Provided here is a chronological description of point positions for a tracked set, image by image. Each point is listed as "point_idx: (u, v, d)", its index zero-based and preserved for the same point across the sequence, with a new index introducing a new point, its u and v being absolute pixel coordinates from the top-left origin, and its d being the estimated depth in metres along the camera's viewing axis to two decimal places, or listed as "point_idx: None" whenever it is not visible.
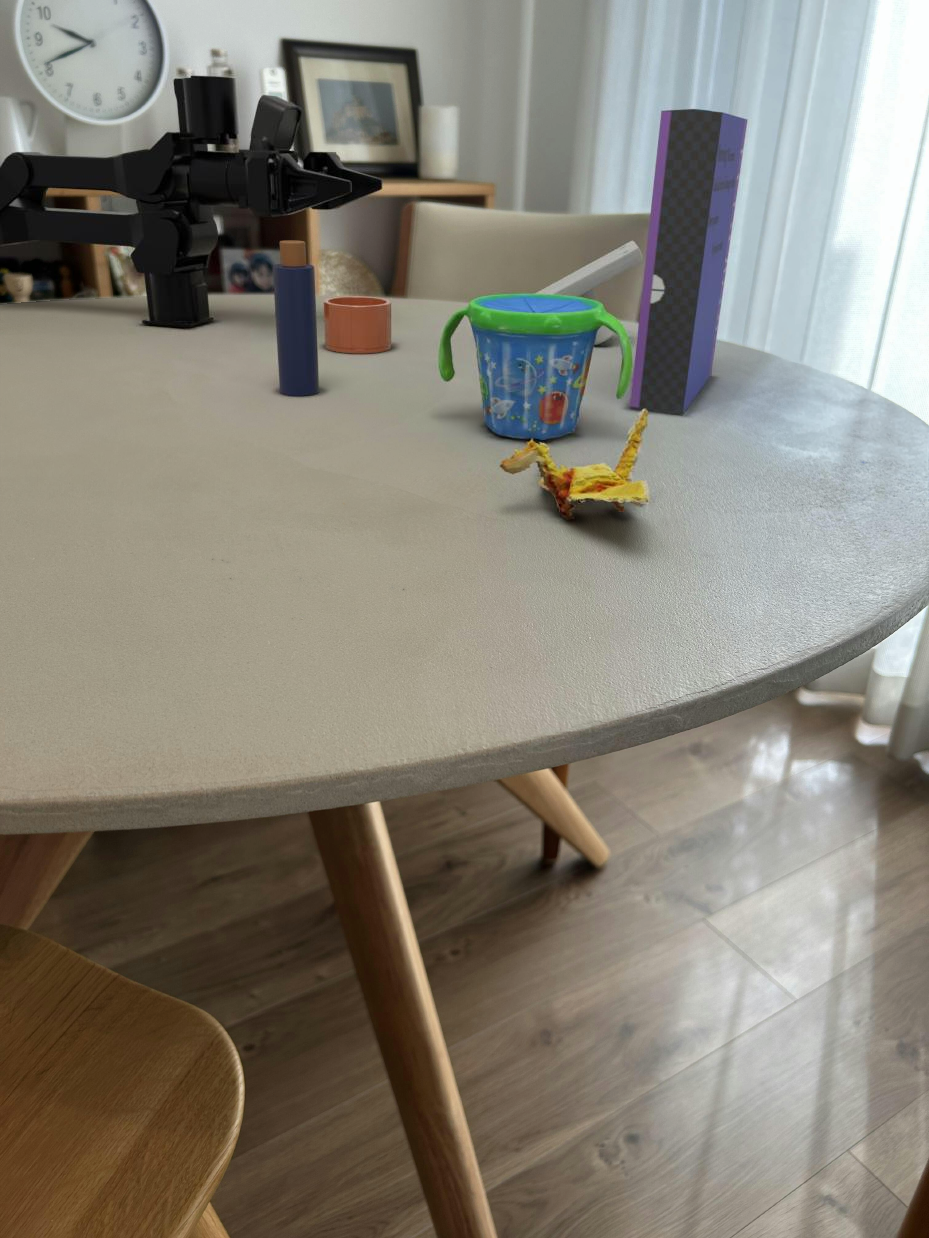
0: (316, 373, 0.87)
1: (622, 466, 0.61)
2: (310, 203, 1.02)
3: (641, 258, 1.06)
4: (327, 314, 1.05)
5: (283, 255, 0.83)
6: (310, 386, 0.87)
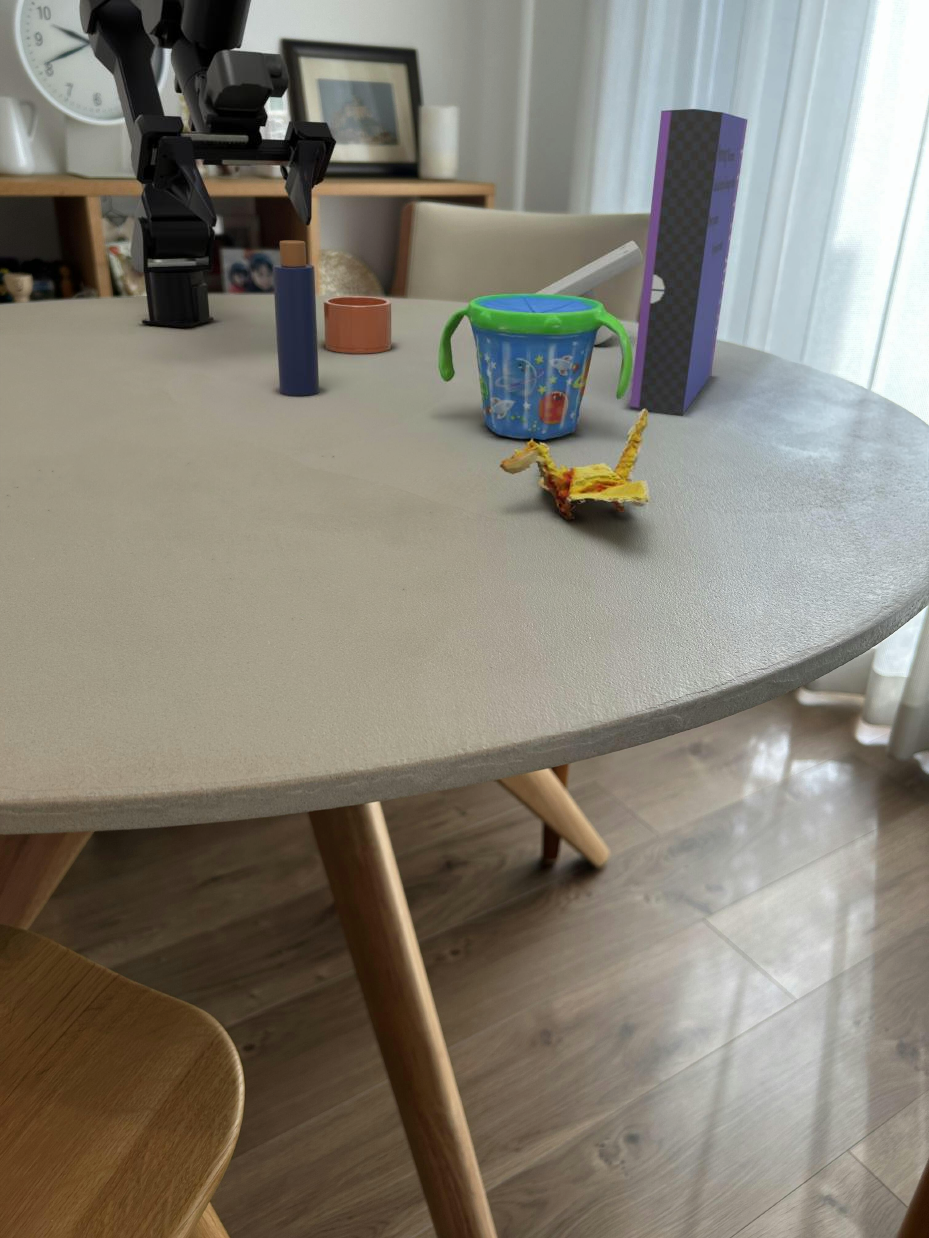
0: (316, 373, 0.87)
1: (622, 466, 0.61)
2: (183, 201, 0.89)
3: (641, 258, 1.06)
4: (327, 314, 1.05)
5: (283, 255, 0.83)
6: (310, 386, 0.87)
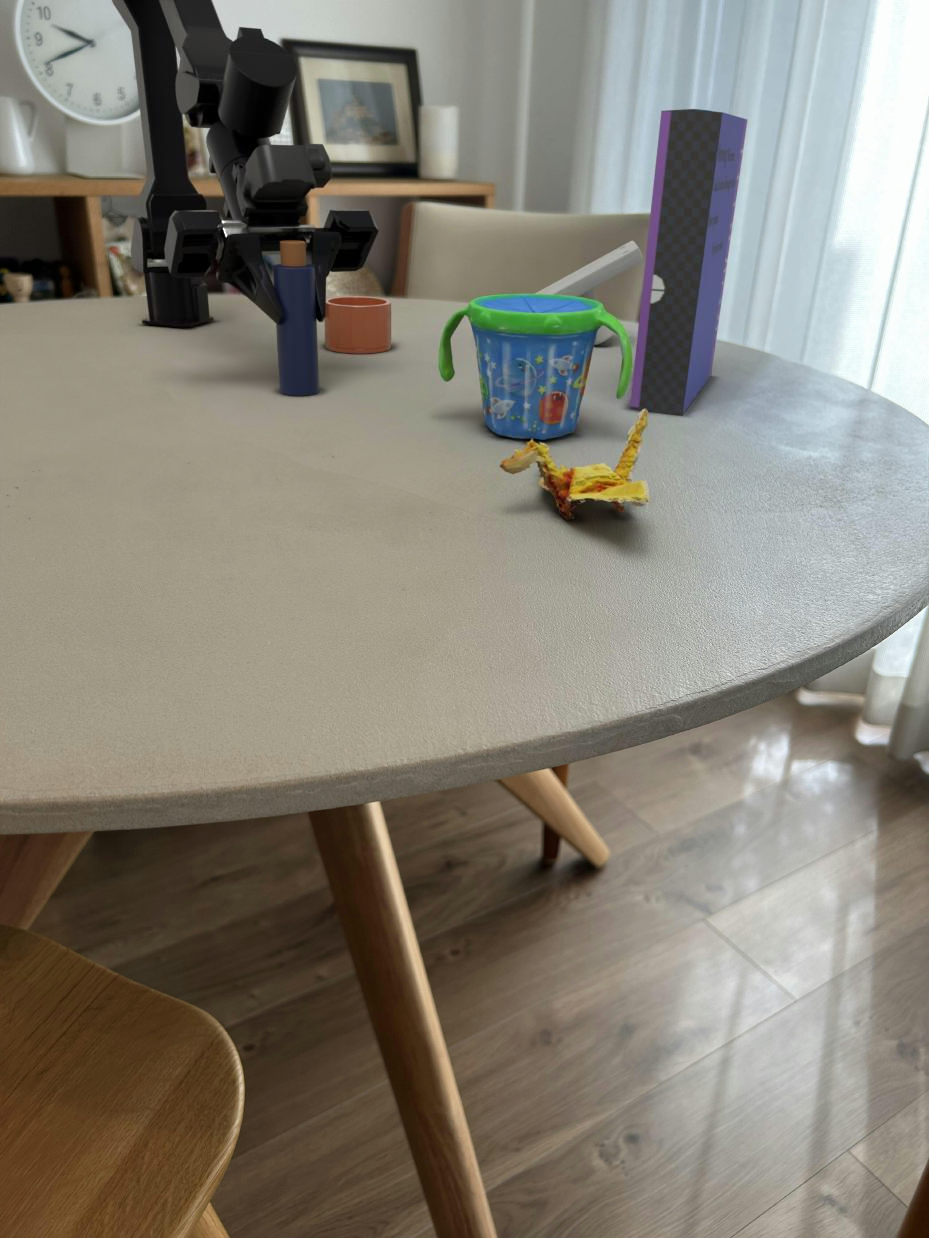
0: (316, 373, 0.87)
1: (622, 466, 0.61)
2: (248, 296, 0.86)
3: (641, 258, 1.06)
4: (327, 314, 1.05)
5: (284, 255, 0.83)
6: (310, 386, 0.87)
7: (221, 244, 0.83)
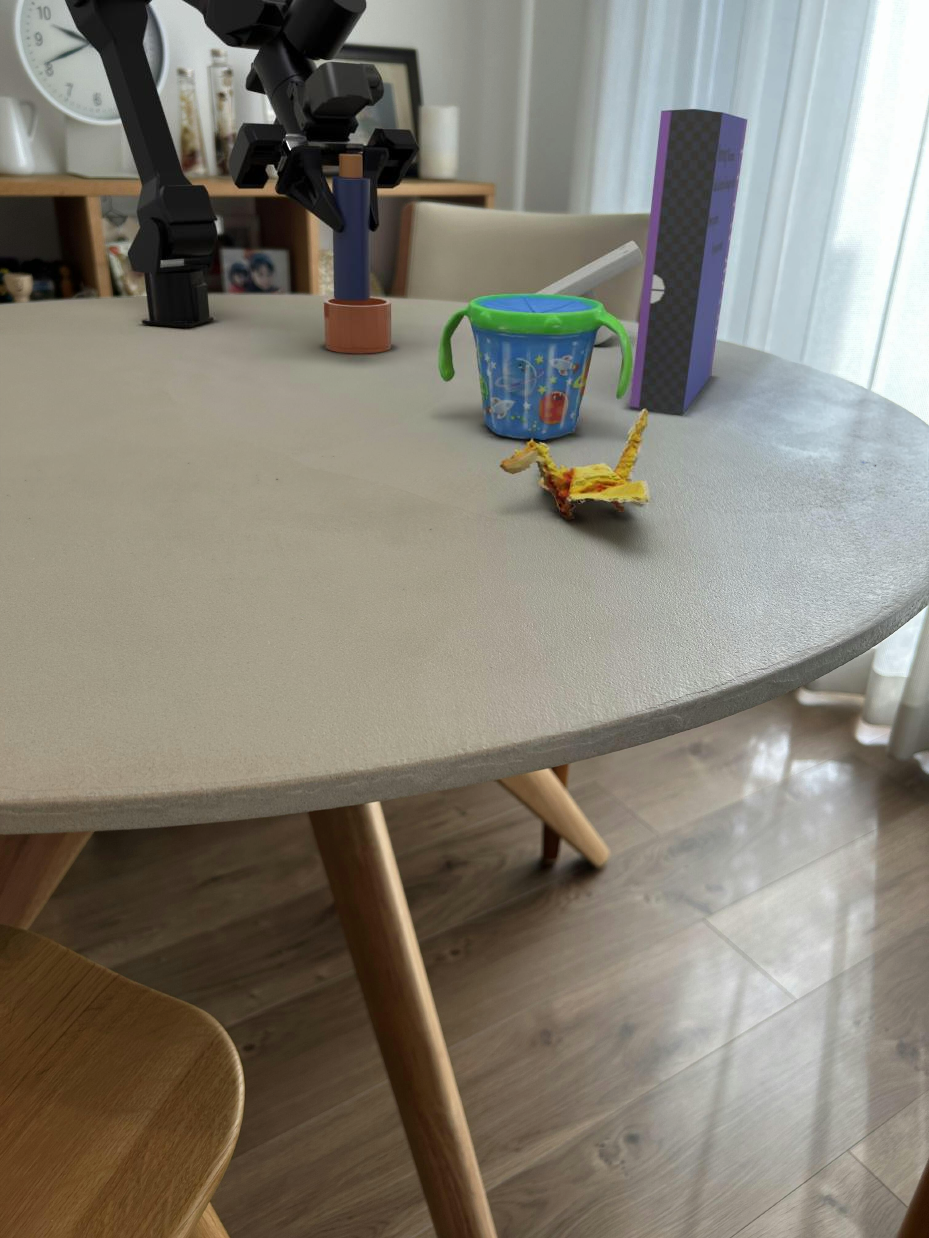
0: (369, 280, 0.95)
1: (622, 466, 0.61)
2: (306, 206, 0.92)
3: (641, 258, 1.06)
4: (327, 314, 1.05)
5: (344, 166, 0.90)
6: (364, 291, 0.95)
7: (284, 156, 0.90)
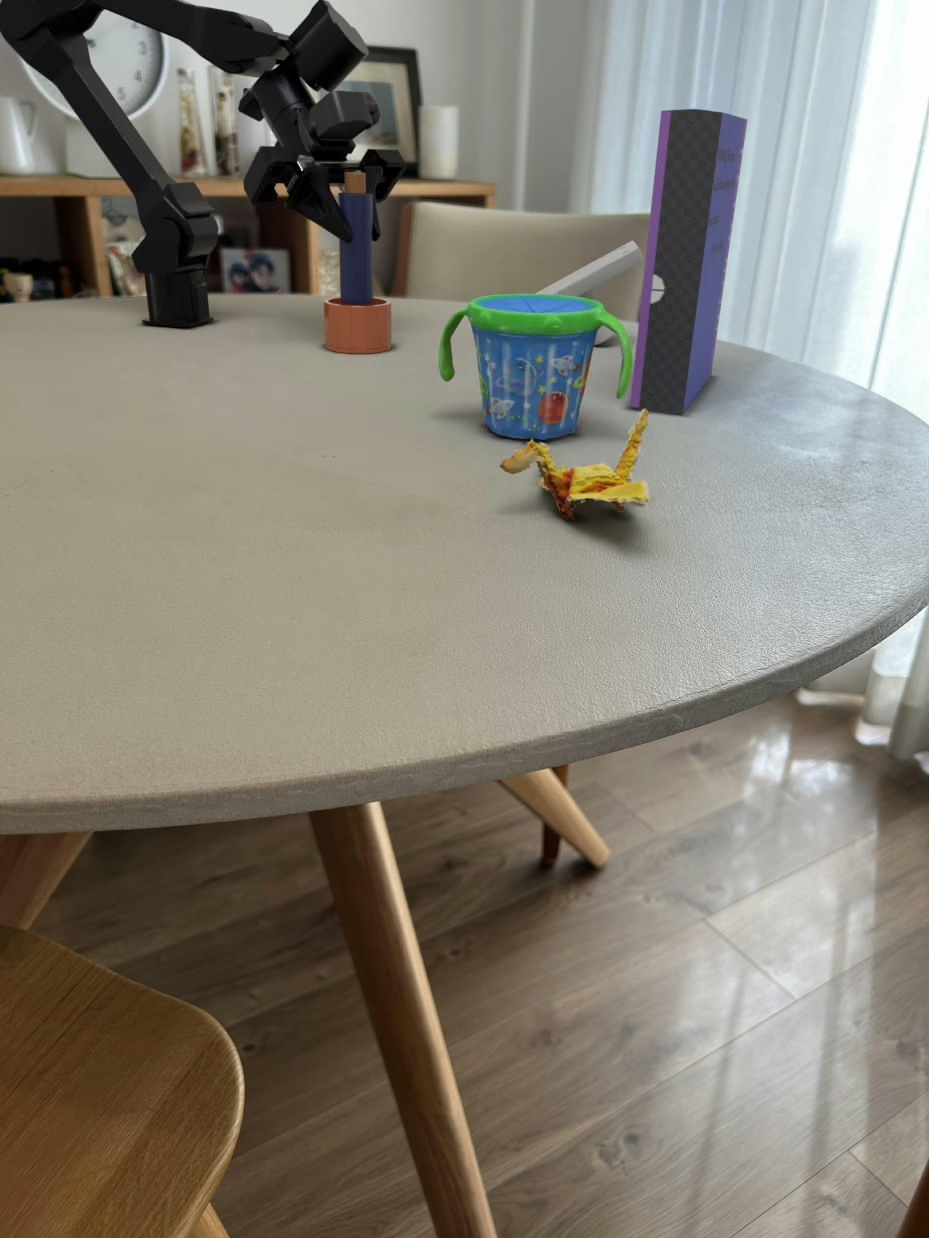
0: (372, 285, 1.05)
1: (622, 466, 0.61)
2: (314, 220, 1.02)
3: (641, 258, 1.06)
4: (327, 314, 1.05)
5: (350, 183, 1.00)
6: (369, 295, 1.05)
7: (295, 175, 0.99)
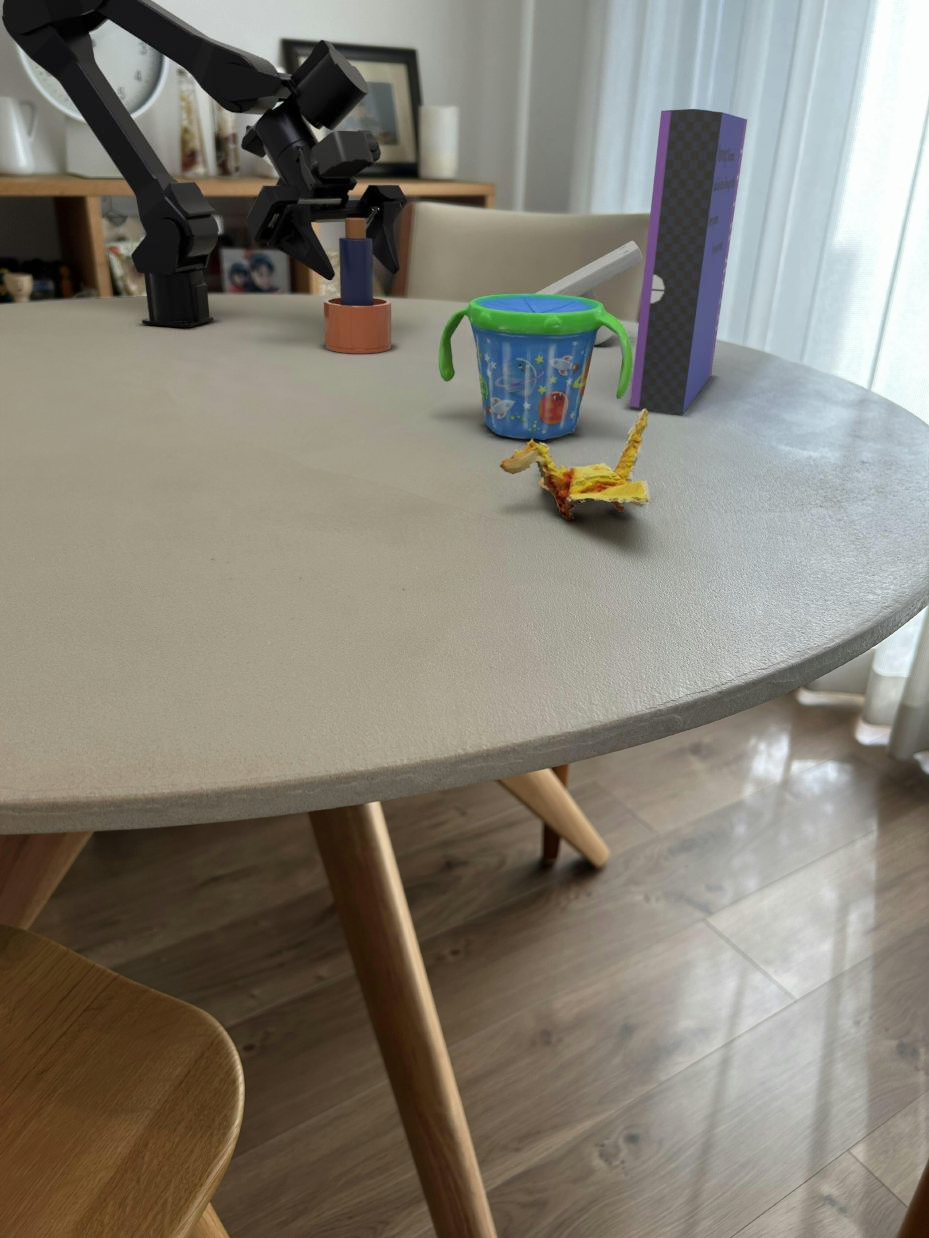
0: None
1: (622, 466, 0.61)
2: (296, 257, 1.02)
3: (641, 258, 1.06)
4: (327, 314, 1.05)
5: (350, 229, 1.02)
6: None
7: None
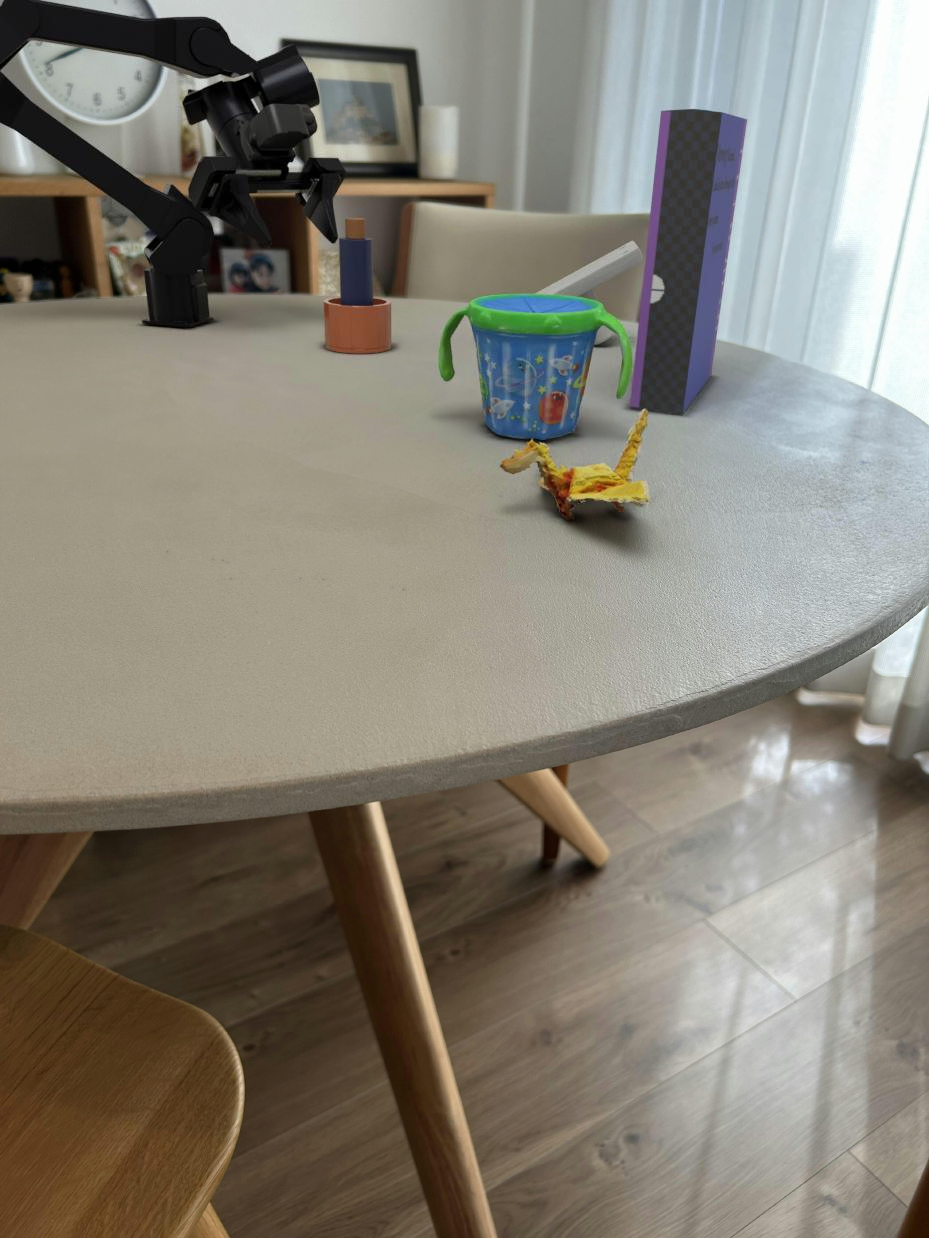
0: None
1: (622, 466, 0.61)
2: (236, 226, 1.07)
3: (641, 258, 1.06)
4: (327, 314, 1.05)
5: (350, 229, 1.02)
6: None
7: None
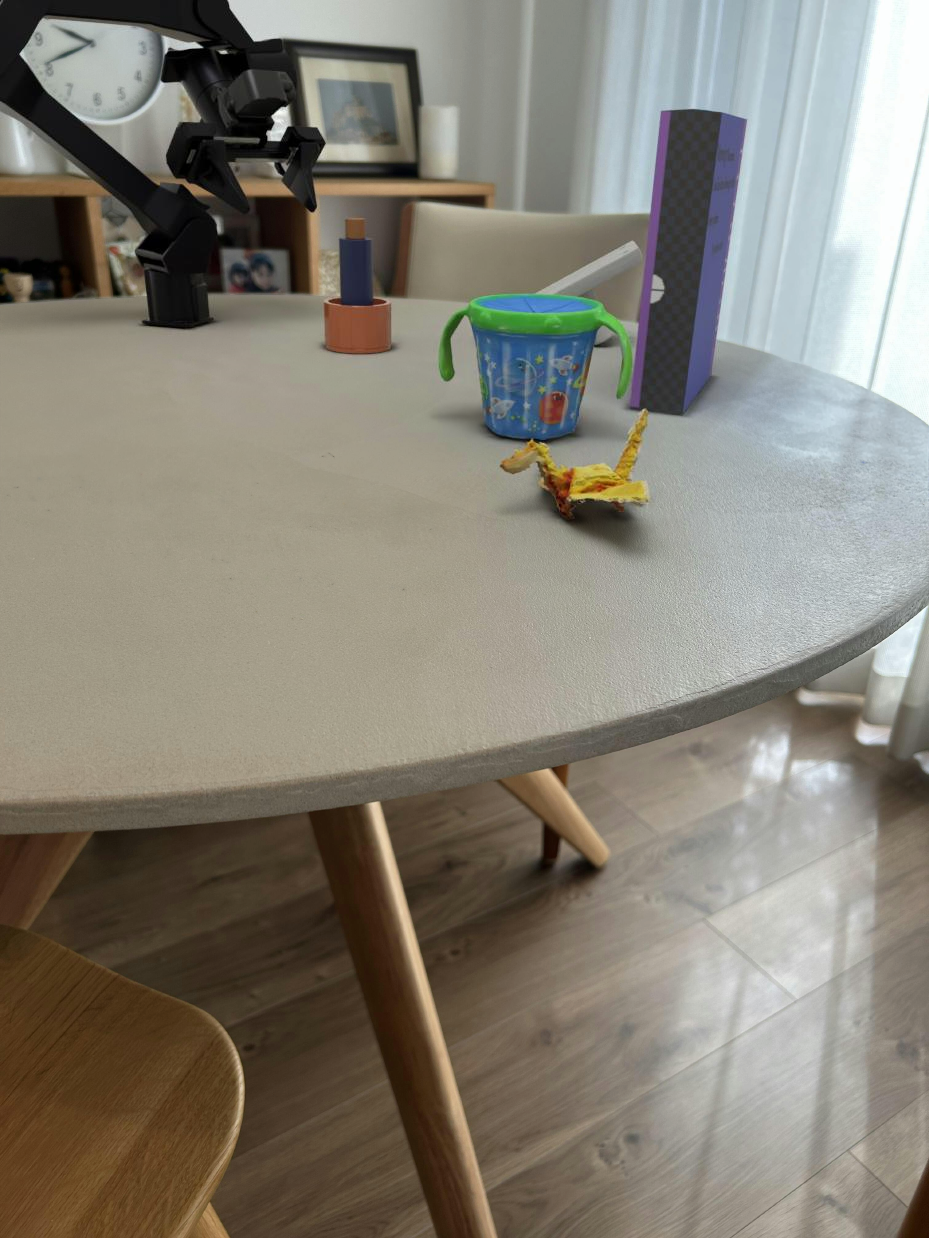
0: None
1: (622, 466, 0.61)
2: (214, 193, 1.07)
3: (641, 258, 1.06)
4: (327, 314, 1.05)
5: (350, 229, 1.02)
6: None
7: None
